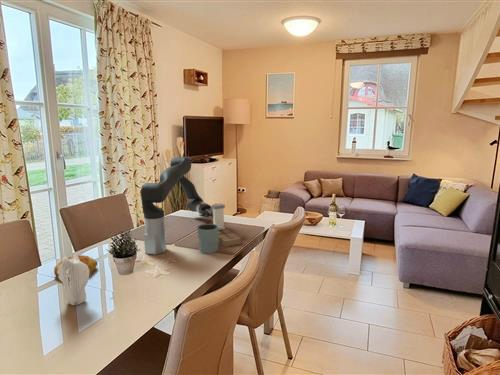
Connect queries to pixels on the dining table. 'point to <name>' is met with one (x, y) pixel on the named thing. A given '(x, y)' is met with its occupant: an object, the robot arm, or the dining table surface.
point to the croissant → (85, 259)
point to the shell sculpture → (74, 279)
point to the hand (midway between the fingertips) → (215, 216)
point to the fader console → (228, 238)
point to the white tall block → (218, 215)
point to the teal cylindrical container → (208, 238)
